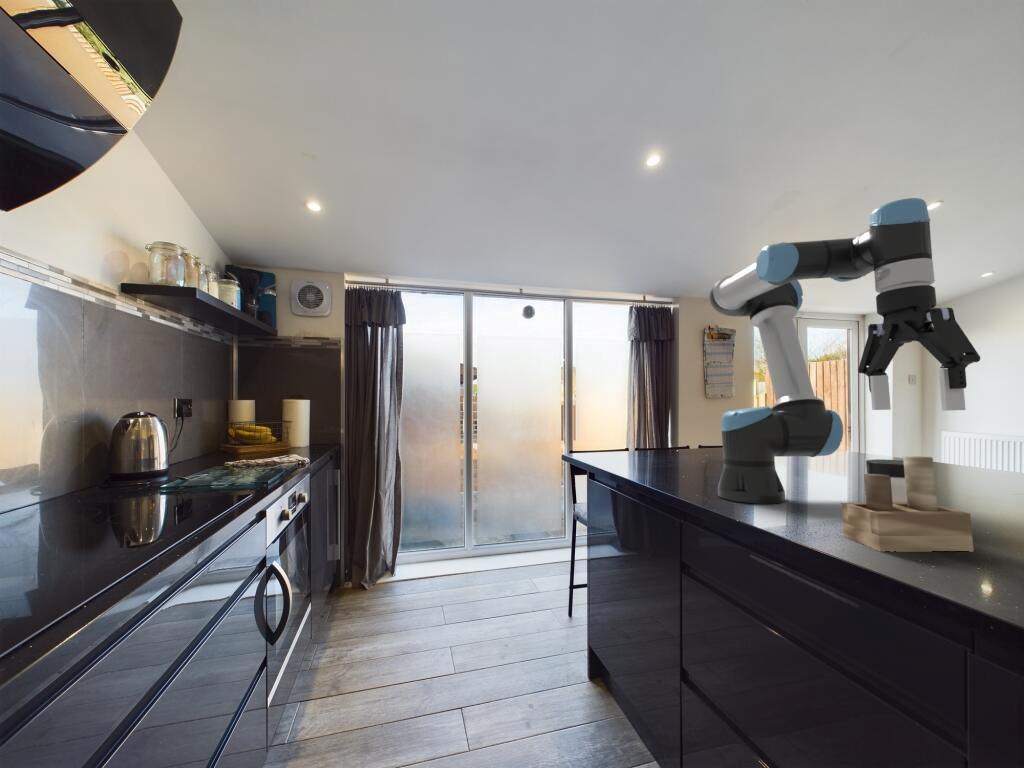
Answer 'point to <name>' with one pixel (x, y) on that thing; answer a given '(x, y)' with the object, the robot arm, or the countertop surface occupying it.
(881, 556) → the countertop surface
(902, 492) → the jar
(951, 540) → the wooden divided box
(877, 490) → the stub
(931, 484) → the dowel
